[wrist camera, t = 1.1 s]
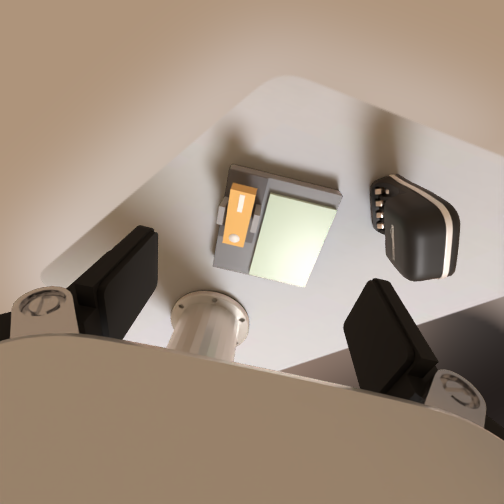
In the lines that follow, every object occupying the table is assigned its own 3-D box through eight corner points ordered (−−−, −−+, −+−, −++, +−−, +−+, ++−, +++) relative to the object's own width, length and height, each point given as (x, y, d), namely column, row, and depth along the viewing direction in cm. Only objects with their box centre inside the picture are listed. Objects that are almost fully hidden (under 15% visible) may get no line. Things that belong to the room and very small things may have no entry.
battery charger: (361, 179, 28) (406, 220, 18) (398, 170, 27) (466, 208, 18) (366, 234, 31) (406, 293, 22) (399, 227, 31) (456, 285, 21)
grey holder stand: (302, 278, 36) (306, 306, 31) (215, 258, 35) (206, 283, 30) (338, 190, 29) (351, 208, 24) (232, 164, 29) (223, 176, 24)
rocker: (244, 240, 29) (243, 247, 28) (224, 235, 29) (222, 242, 28) (257, 188, 24) (255, 195, 23) (233, 182, 24) (230, 189, 23)
